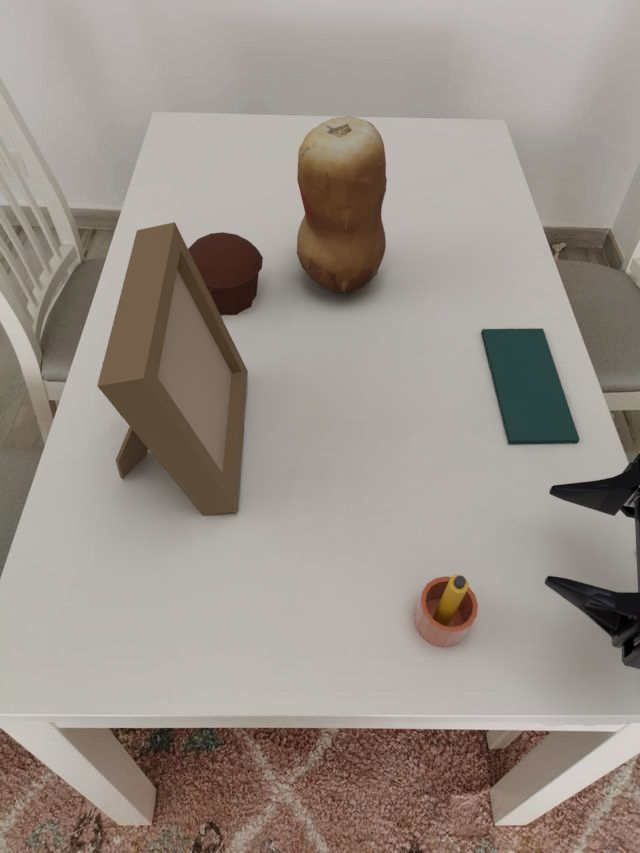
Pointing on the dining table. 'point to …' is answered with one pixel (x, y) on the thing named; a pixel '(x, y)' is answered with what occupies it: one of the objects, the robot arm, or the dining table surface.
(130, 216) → the dining table surface
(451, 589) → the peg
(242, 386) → the photo frame
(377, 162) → the butternut squash
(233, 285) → the muffin
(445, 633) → the pencil cup
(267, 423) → the dining table surface
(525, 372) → the mat
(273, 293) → the dining table surface
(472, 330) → the dining table surface
